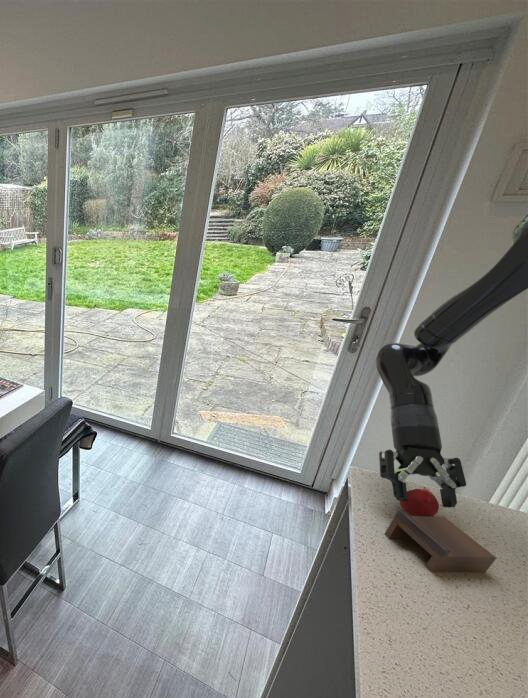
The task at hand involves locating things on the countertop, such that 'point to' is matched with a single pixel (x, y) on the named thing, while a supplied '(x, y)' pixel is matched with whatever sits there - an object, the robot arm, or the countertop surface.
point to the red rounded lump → (420, 503)
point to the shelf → (442, 543)
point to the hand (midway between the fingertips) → (425, 503)
